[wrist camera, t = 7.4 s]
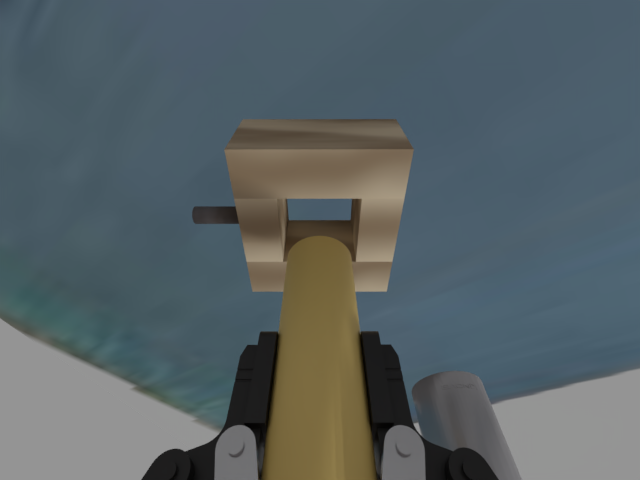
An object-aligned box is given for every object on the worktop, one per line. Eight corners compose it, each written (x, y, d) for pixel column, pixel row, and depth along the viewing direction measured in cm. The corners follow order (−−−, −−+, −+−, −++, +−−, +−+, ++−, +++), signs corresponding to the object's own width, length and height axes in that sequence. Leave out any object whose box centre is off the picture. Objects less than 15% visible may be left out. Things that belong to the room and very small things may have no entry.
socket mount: (377, 248, 27) (386, 291, 23) (222, 248, 27) (205, 291, 23) (395, 119, 20) (413, 149, 17) (189, 119, 20) (158, 149, 17)
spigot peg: (349, 283, 19) (390, 694, 8) (289, 283, 19) (246, 694, 8) (353, 235, 16) (419, 719, 6) (285, 235, 16) (216, 720, 6)
